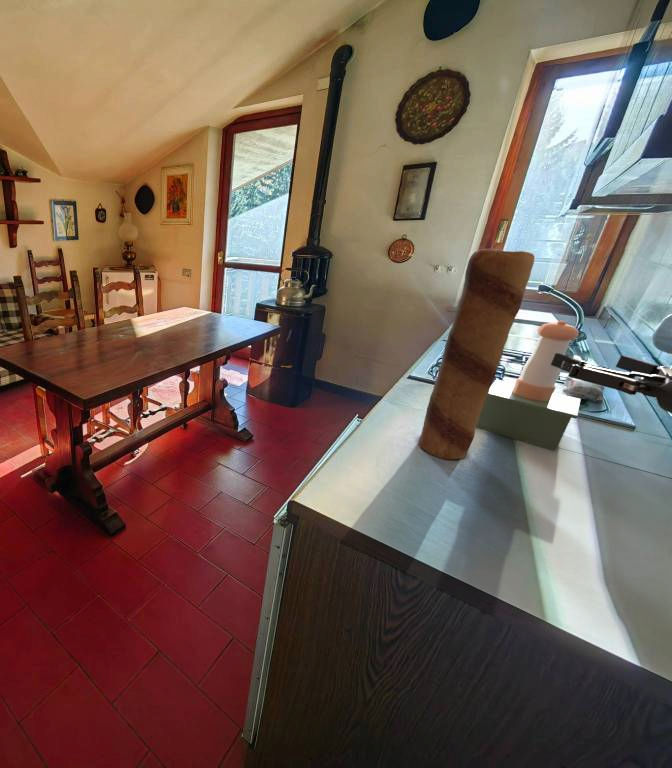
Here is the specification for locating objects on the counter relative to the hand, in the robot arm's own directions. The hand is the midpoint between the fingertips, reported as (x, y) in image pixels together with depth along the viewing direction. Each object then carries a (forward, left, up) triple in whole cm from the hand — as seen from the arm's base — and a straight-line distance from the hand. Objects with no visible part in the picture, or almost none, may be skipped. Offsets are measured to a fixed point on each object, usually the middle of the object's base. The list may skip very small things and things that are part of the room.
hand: (587, 360), depth 85 cm
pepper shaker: (+6, -6, -13) cm, 16 cm away
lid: (+6, -6, -13) cm, 16 cm away
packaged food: (-4, -49, -23) cm, 54 cm away
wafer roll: (+17, +21, -23) cm, 35 cm away
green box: (+6, -6, -22) cm, 24 cm away
